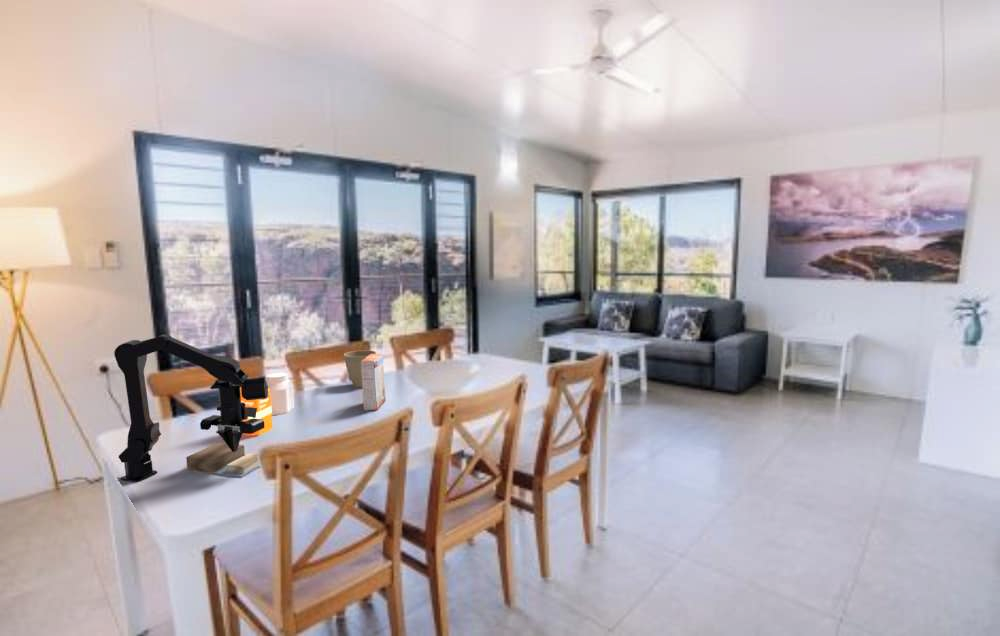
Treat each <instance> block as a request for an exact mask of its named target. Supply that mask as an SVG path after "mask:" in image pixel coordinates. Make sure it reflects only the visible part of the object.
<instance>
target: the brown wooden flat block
mask: <svg viewBox="0 0 1000 636" xmlns="http://www.w3.org/2000/svg"><path fill="white" fill-rule="evenodd" d="M245 455H246V454H245V445H243V444H239V446H238V449H237V451H236V452H232V451H231V449H230V448H229V447H228V445H227V444H226V442H216V443H213V444H211V445H210V446H207V447H206V448H203V449H200V450H199V451H197V452H196V451H195V452H194V453H192V454H190V455H188V456H186V457H185V459H186V470H187V471H193V472H202V473H208V474H209V473H210V474H213V473H214V472H216V471H218V470H220V469H222V468H223V467H225V466H227V464H229V463H231V462H233V461H235V460H237V459H239V458H241V457H243V456H245Z"/></svg>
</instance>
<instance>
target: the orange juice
mask: <svg viewBox="0 0 1000 636" xmlns="http://www.w3.org/2000/svg"><path fill="white" fill-rule="evenodd" d="M240 393H241V387H240ZM241 402H243V403H245V406H246V407H253V408H257V412H256V418H253V417H248V419H246V420H243V421H248V420H250V419H252V418H253V419H262V420H263V421H264V425H265V428H263V429H261V430H259V431H257V432H255V433H253V434H246V435H245V436H255V435H260V436H262V435H263V433H264V434H266V433H268V432H270V431H271V430H273V415H272V409H271V398H270V390H269V388H268V398H267V399H258V400H246V399H244V398H243V397H242V394H241ZM261 434H262V435H261Z"/></svg>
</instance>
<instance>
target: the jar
mask: <svg viewBox="0 0 1000 636" xmlns="http://www.w3.org/2000/svg"><path fill="white" fill-rule="evenodd" d="M265 378H266V381H267V385H268V388H269V390H270V398H271V409H272V416H277V415H279V416H280V415H284V414H288V413H289V412H290V411H292V410H294V409H295V402H294V401H295V399H294V384H293V382H292V381H291V380H289V374H288V372H274V373H269V374H267V375H266V376H265Z"/></svg>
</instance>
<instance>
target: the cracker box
mask: <svg viewBox="0 0 1000 636" xmlns="http://www.w3.org/2000/svg"><path fill="white" fill-rule="evenodd" d="M384 363H385V362H384V354H383V353H376V354H370V355H369V356H367V357H366V358H365V359H363V360H362V361H361V373H362V387H361V388H362V400H363V401H362V402H363V411H378V410H379V408H380V407H382V405H383V404H384V403H385V402H386V382H385V366H384Z"/></svg>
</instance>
